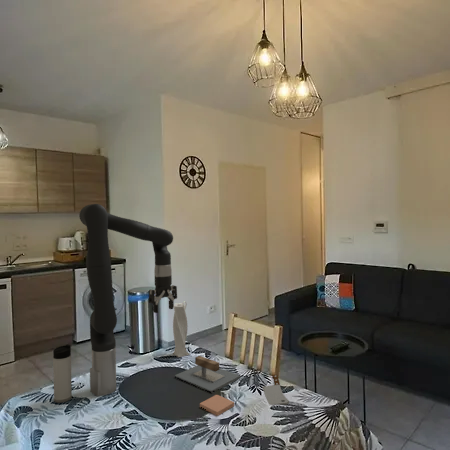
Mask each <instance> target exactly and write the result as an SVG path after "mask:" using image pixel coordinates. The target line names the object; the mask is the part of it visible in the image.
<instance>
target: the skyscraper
mask: <svg viewBox="0 0 450 450" xmlns="http://www.w3.org/2000/svg"><path fill="white" fill-rule="evenodd" d="M187 305H188V304H187V301H185V300H184V301H183V302H178V303H177V302H174V307H173V311H174V314H173V321H172V323H173V324H172V328H173V329H172V330H173V339H174V345H175V346H174V351H173V352H172V355H174V356H176V358H182V357H187V356H191V353H190V352H188V351H187V347H186V342H187V338H188V337H187V335H188V318H187V314H186V309H187Z"/></svg>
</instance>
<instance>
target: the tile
mask: <svg viewBox="0 0 450 450" xmlns="http://www.w3.org/2000/svg"><path fill="white" fill-rule="evenodd" d="M201 407H202V408H201ZM233 407H235V401H232V400H230V399H228V398H226V397H223V396H221V395H219V394H214V395H213V396H211V397H209V398H207V399H206V400H204V401H201V402H200V403H199V408H201V409H203V408H204V409H203V410H205V409H206V410H205V411H206V412H209V413H210V414H213V415H215V416H217V417H219V416H220V415H221V414H223V413H225V412H226V411H228V410H229V409H231V408H233Z"/></svg>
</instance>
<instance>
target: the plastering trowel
mask: <svg viewBox="0 0 450 450" xmlns="http://www.w3.org/2000/svg"><path fill="white" fill-rule="evenodd" d="M194 361H195V362H194V363H195V366H197V365H199V366H201V367H202V370H200V371H198V372H196V373H194V374H193V375H194V376H197V377H199V378H202V379H204V380H207V381H209V382H212V383H215V382H217V381H219V380H221V379H223V378H225V376H223V375H221V374H218V373H215V372H216V371H218V370H219V368H220V362H218V361H215V360H213V359H210V358H207V357H204V356H201V355H197V356H195V358H194ZM206 368H207V369H209V370H207V369H206ZM210 370H212V371H215V372H212V371H210Z"/></svg>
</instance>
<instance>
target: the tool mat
mask: <svg viewBox="0 0 450 450" xmlns="http://www.w3.org/2000/svg"><path fill="white" fill-rule="evenodd" d="M206 369H207V368H206ZM200 370H202V367H201V366H199V365H195V366H194V367H193V366H192V367H190V368H188V369H186V370H184V371H182V372H179V373H177V374H174V377H175V376H176V377H179V378H181V379H183V380H186V381H188V382H191V383H193V384H196V385H198V386H200V387H202V388H205V389H207V390H209V391H213V390H216V389H219V390H220V389H223V388H224V387H226V386H228V385H230V384H231V383H234V382H235V381H237V380H239V379H241V375H239V374H237V373H233V372H231V371H228V370H225V369H222V368H220V367H219V370H218V371H216V372H215V371H212V370H210V371H212V372H215V373H218V374H221V375H223V376H225V378H223V379H221V380H219V381H217V382H215V383H212V382H209V381H207V380H204V379H202V378H199V377H197V376H194V375H193V374H194V373H196V372H198V371H200ZM207 370H209V369H207Z"/></svg>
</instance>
